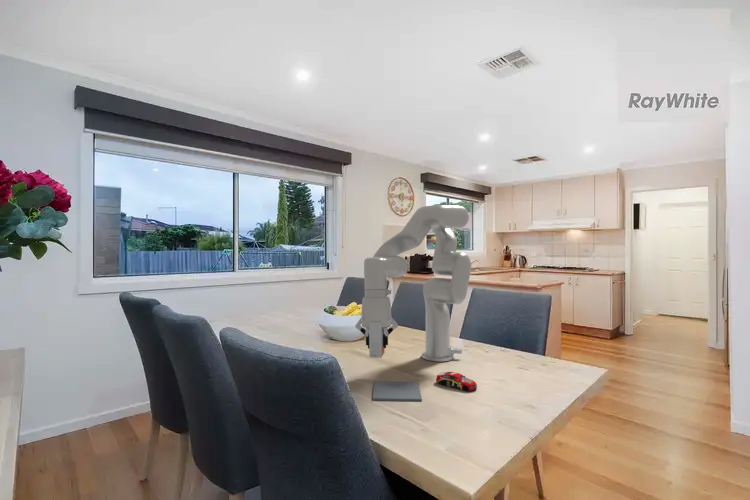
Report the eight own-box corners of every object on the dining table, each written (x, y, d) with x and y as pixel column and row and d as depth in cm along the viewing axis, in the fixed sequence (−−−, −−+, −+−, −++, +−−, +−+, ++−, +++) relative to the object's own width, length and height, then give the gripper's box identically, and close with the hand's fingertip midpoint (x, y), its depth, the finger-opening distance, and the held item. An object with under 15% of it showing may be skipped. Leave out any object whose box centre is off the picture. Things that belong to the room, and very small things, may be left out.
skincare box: (381, 358, 127) (381, 322, 126) (369, 357, 127) (368, 322, 127) (385, 352, 133) (384, 318, 132) (373, 352, 133) (372, 318, 133)
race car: (479, 389, 119) (480, 376, 119) (472, 394, 115) (472, 381, 115) (442, 379, 127) (442, 367, 127) (434, 384, 123) (434, 371, 123)
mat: (418, 383, 123) (418, 381, 123) (421, 401, 109) (421, 398, 109) (374, 383, 123) (374, 381, 123) (372, 400, 109) (372, 398, 109)
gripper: (400, 291, 133) (401, 343, 133) (351, 292, 133) (353, 344, 134) (401, 295, 125) (402, 350, 126) (349, 295, 126) (351, 350, 126)
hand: (377, 346), depth 130 cm, fingers closed on skincare box, 4 cm apart
